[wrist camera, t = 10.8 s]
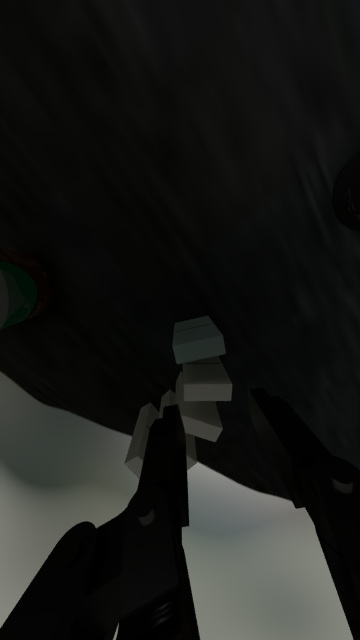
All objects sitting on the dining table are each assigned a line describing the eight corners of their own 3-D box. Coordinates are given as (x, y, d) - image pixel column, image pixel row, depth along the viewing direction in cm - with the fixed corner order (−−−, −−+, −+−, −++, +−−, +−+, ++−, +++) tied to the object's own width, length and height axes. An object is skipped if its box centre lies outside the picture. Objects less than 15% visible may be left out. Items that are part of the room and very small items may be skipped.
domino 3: (174, 322, 26) (172, 345, 17) (207, 315, 26) (222, 334, 17) (177, 335, 26) (177, 364, 18) (210, 328, 26) (226, 354, 17)
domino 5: (180, 371, 28) (181, 414, 19) (209, 381, 28) (222, 428, 19) (175, 382, 28) (174, 429, 19) (204, 392, 29) (215, 442, 20)
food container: (36, 342, 27) (-47, 379, 17) (-2, 317, 26) (-112, 342, 16) (78, 276, 24) (11, 276, 15) (38, 247, 23) (-62, 225, 14)
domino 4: (182, 349, 27) (184, 384, 18) (214, 349, 27) (232, 383, 18) (182, 361, 27) (184, 401, 19) (214, 361, 27) (230, 400, 19)
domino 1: (150, 402, 29) (138, 455, 20) (168, 422, 30) (163, 482, 21) (140, 408, 29) (124, 463, 21) (158, 428, 30) (149, 489, 22)
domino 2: (170, 389, 28) (166, 438, 20) (191, 407, 29) (196, 462, 21) (161, 397, 29) (153, 449, 20) (183, 414, 30) (184, 472, 21)
